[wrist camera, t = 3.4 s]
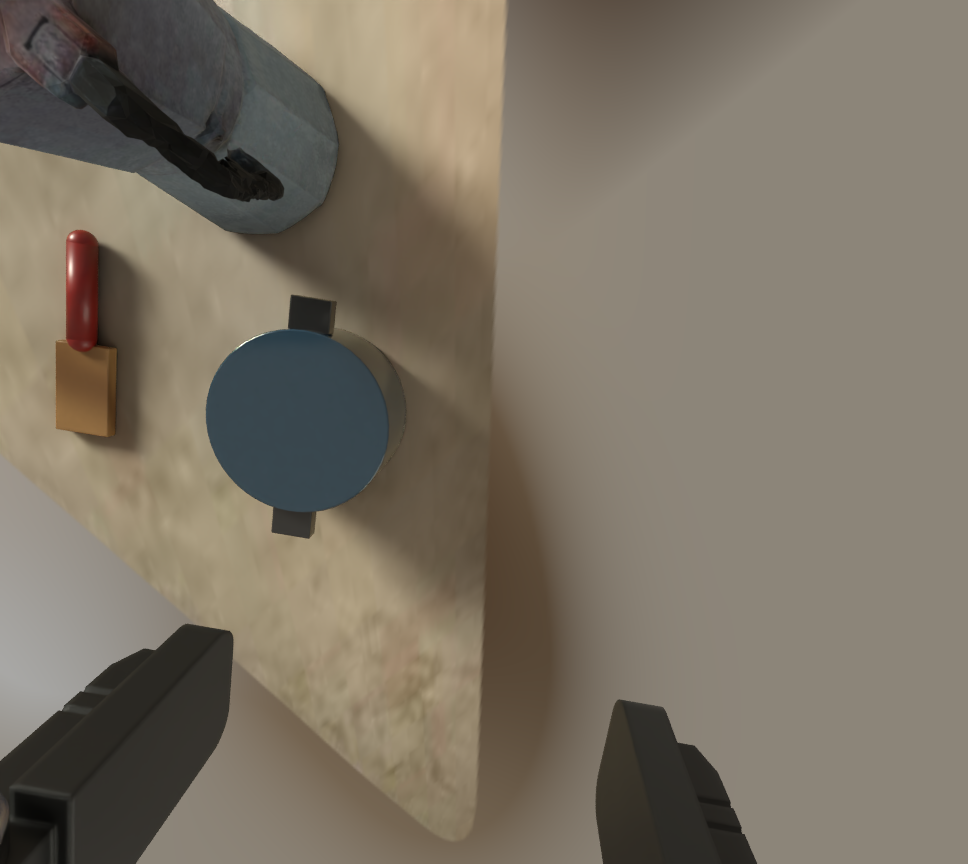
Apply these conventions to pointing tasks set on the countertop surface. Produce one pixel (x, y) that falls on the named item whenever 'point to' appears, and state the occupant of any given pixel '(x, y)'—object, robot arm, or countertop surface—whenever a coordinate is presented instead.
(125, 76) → the moka pot
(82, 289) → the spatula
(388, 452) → the pot
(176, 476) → the countertop surface
